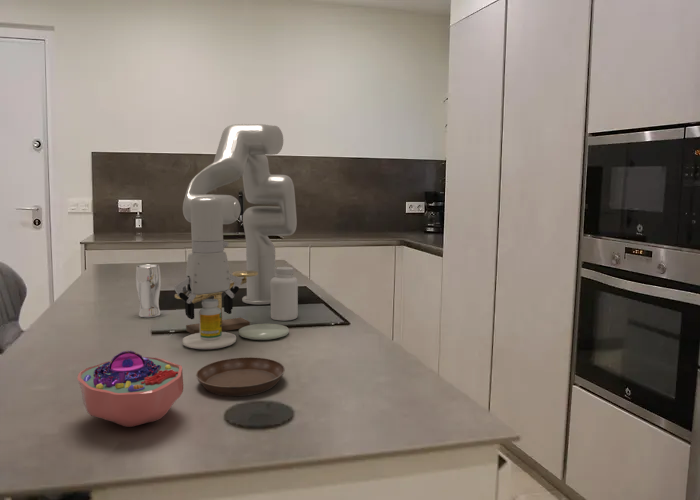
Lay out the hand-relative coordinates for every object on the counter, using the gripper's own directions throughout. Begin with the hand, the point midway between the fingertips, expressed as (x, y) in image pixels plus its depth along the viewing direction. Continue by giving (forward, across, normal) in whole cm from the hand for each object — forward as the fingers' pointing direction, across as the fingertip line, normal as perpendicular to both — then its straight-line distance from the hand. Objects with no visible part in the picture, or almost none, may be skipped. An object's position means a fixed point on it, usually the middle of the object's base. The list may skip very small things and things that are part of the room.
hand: (209, 315), depth 149 cm
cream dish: (+7, 0, 0) cm, 7 cm away
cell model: (+7, +29, +37) cm, 47 cm away
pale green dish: (+7, -15, 0) cm, 16 cm away
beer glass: (+8, +4, -38) cm, 39 cm away
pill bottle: (+8, -28, -13) cm, 32 cm away
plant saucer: (+7, +6, +31) cm, 32 cm away
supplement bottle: (+6, 0, 0) cm, 6 cm away
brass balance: (+7, -7, -12) cm, 16 cm away
